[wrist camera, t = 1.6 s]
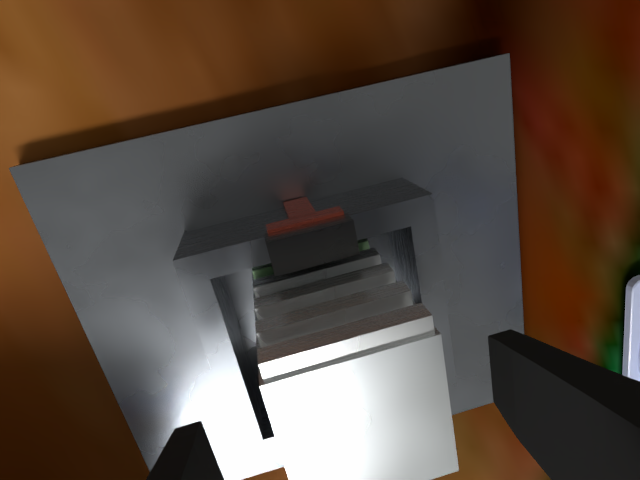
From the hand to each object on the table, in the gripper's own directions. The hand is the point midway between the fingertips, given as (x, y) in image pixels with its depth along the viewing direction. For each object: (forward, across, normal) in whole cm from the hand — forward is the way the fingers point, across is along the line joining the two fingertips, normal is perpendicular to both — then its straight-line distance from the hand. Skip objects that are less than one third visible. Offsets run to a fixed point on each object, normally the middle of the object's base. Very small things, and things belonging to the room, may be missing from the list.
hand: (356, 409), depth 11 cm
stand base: (+6, 0, 0) cm, 6 cm away
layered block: (+6, 0, 0) cm, 6 cm away
